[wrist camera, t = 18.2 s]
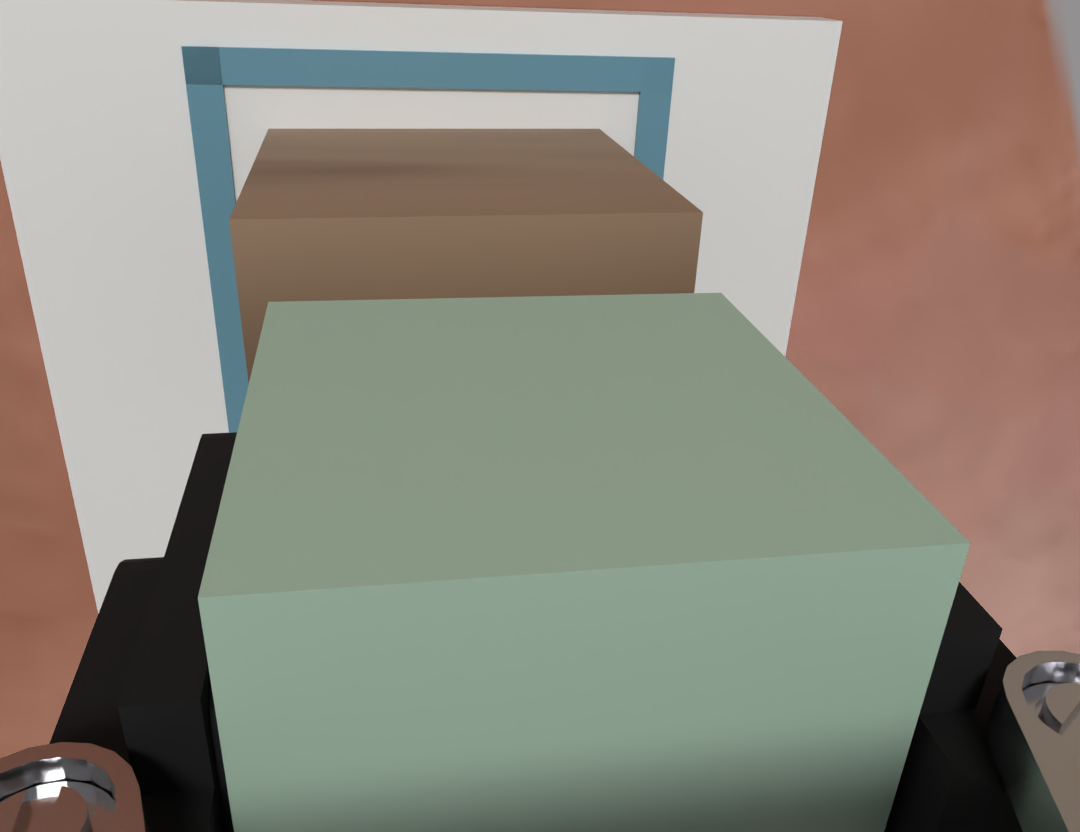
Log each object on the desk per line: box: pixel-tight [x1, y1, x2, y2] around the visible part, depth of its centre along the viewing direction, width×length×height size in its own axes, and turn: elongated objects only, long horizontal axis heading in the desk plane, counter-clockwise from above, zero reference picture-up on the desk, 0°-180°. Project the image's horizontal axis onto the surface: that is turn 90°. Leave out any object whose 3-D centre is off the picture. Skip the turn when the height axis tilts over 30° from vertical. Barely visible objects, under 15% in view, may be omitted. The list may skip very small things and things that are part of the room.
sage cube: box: [198, 293, 970, 832], centre depth 9 cm, size 5×5×5 cm
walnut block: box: [229, 129, 703, 382], centre depth 16 cm, size 6×6×6 cm
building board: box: [0, 0, 842, 614], centre depth 22 cm, size 24×15×1 cm, turn 178°
